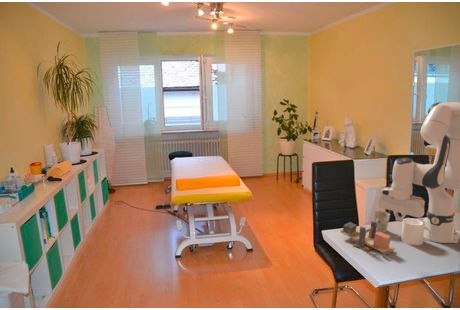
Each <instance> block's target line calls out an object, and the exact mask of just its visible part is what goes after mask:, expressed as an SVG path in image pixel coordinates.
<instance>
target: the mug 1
mask: <svg viewBox="0 0 460 310" xmlns="http://www.w3.org/2000/svg"><path fill="white" fill-rule="evenodd" d="M390 217H391V213H389V212H387V211H382V210H381V211H380V210H378V211H377V210H376V211H374V212H373V221H375V222H377V226H376V233H377V232H382V233H384V234H385V233H386V232H387V230H388V227H389V226H388V225H389V222H390Z"/></svg>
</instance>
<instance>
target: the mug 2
mask: <svg viewBox="0 0 460 310" xmlns="http://www.w3.org/2000/svg"><path fill="white" fill-rule="evenodd" d="M423 221H424V220H421V219H419V218H415V217H414V218H413V217H412V218H410V217H406V218H405V217H404V219H403V222H401V223H402V224H401V235H400V240H401V241H402V242H403V243H405V244H407V245H411V246H420V245H421V246H422V245H423V244H424V241H425V242H430V241H431V240H430V239H431V230H430V228H429V227H425V223H424V222H423ZM424 229H426V230H429V233H430V236H429V238H425V237H424Z"/></svg>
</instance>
